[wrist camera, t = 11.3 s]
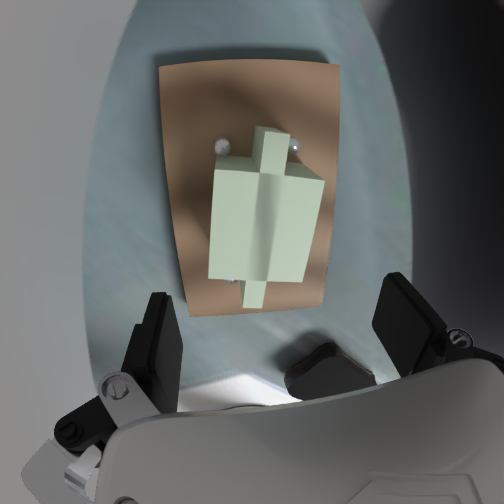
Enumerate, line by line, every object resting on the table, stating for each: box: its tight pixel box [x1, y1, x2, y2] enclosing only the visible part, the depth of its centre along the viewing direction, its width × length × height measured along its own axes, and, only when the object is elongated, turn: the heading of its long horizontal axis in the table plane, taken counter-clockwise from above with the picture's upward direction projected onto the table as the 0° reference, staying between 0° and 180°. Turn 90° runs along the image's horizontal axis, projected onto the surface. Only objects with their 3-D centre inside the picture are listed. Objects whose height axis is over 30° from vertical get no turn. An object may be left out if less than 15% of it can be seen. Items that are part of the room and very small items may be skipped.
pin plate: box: [159, 59, 340, 317], centre depth 21 cm, size 22×13×4 cm, turn 1°
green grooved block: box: [208, 126, 325, 308], centre depth 19 cm, size 12×6×5 cm, turn 173°
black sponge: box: [284, 343, 377, 401], centre depth 35 cm, size 16×8×4 cm, turn 43°
